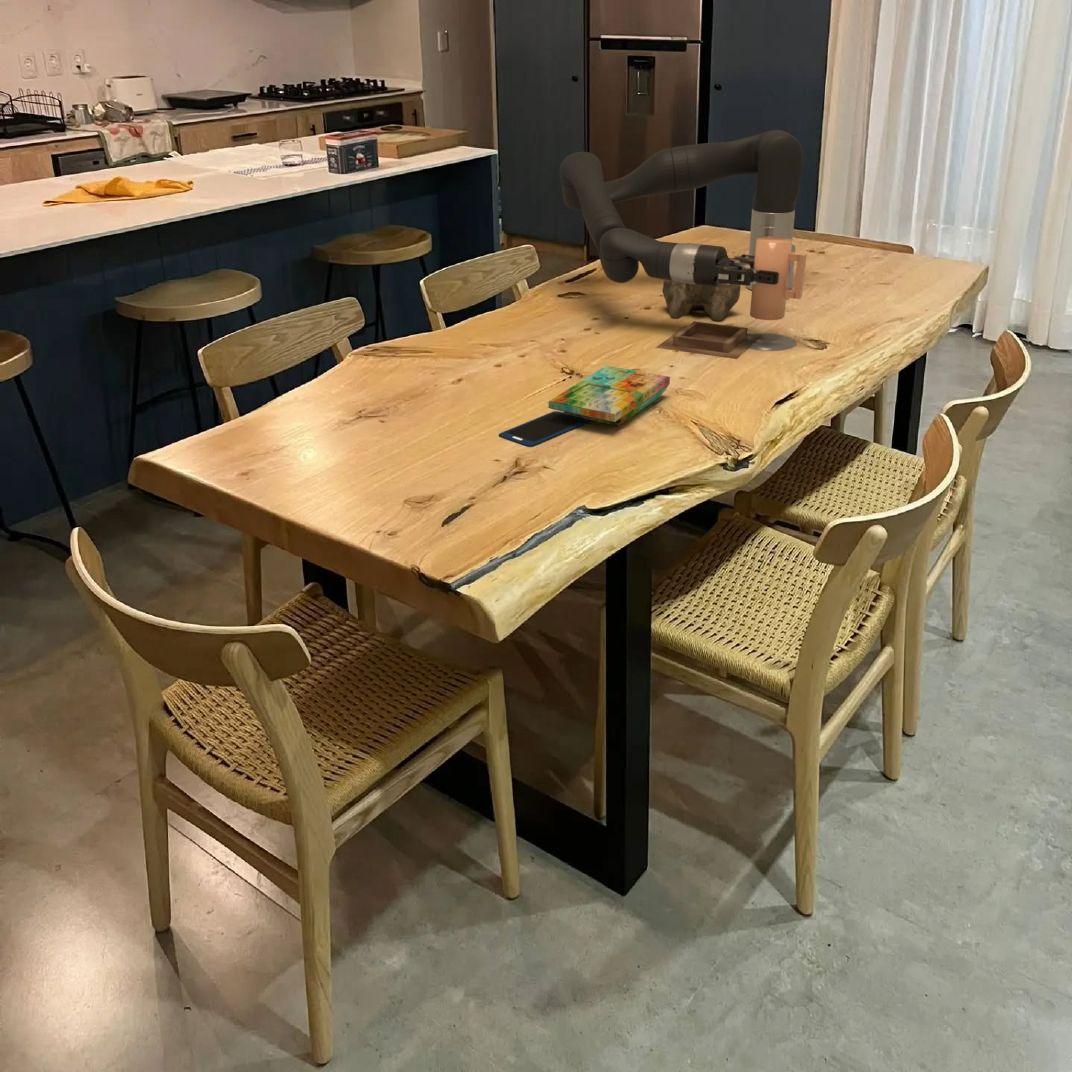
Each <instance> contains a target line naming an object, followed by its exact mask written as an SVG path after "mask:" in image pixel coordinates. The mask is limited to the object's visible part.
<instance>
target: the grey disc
mask: <svg viewBox="0 0 1072 1072" xmlns="http://www.w3.org/2000/svg"><path fill="white" fill-rule="evenodd" d="M749 334H750V335H749V336H747V338H746V340H747V341H746V340H745V339H744V340H743V341H742V342H741V343H740V344H741V345H742V346H744V347H745V346H746V347H747V348H749V347H750V348H749V349H751V350H755V351H761V352H763V351H764V352H779V351H780V352H781V351H787V350H790V349H793V348H795V347H796V346H797V344H798V343H797V341H796V340H795V339H794V338H792V337H789V336H787V335H782V334H779V333H778V334H777V333H764V332H762V333H749ZM751 334H752V335H751ZM760 335H761V336H760ZM754 336H755V337H754ZM751 337H752V338H754V339H755V338H756V340H755V342H754V341H753V339H752V342H751ZM759 338H760V339H759ZM757 339H758V340H757ZM749 340H750V341H749ZM753 342H754V343H753ZM744 343H745V344H744ZM749 343H751V344H752V345H751V344H749Z"/></svg>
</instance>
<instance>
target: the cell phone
mask: <svg viewBox="0 0 1072 1072" xmlns="http://www.w3.org/2000/svg"><path fill="white" fill-rule="evenodd" d="M588 423H589V420H587V419H582V418H579V417H576V416H572V415H568V414H566V413H564V411H559V410H553V411H551V412H549V413H545V414H544V415H541V416H539V417H536V418H534V419H532V420H529V421H526V422H524V423H522V424H520V425H519V424H518V425H517V426H515V427H514V426H513V427H512V428H509V429H506V430H504V431H502V432H500V433H499V434H498V437H499V438H501V439H504V440H507V441H510V442H512V443H515V444H518V445H521V446H524V447H527V448H533V447H537V446H539V445H542V444H544V443H546V442H548V441H550V440H552V439H555V438H558V437H560V436H563V435H564V434H567V433H570V432H571V431H574V430H576V429H578V428H580V427H584V426H586V425H587V424H588Z"/></svg>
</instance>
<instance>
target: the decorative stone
mask: <svg viewBox="0 0 1072 1072" xmlns="http://www.w3.org/2000/svg"><path fill="white" fill-rule="evenodd" d="M663 280H664V281H663V285H662V294H663V296H664V297H663V298H664V300H665V303H666V308H667V310H668V311H669V314H670V317H671V318H672V319H679V318H681V317H683V316H687V315H689V314H690V312H691V310H692V309H700V308H703V310H704V311H705V313H706V314H707V315H708V316H709V317H710V318H711V320H712V321H715V322H721V321H722V320H723V319H724V317H726V316H727V315H728V314H729V312H730V311H731V310H732V309H733V307H734V306H735V305H736V304H737V303H738V301H739V300H740V296H741V286H742V285H736V284H725V283H722V284H721V285H720V286H718V287H711V286H703V285H695V284H687V283H682V282H678V281H674V280H665V279H663Z"/></svg>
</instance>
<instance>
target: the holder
mask: <svg viewBox="0 0 1072 1072" xmlns="http://www.w3.org/2000/svg"><path fill="white" fill-rule="evenodd" d="M750 334H751V335H752V334H753V333H748V327H744V326H743V327H742V326H741V327H740V326H733V325H726V324H725V325H724V324H719V323H710V322H703V321H701V322H700V321H694V320H693V321H692V322H691V323H690V324H688V325H684V326H683V327H682V328H680V329H679V330H678V331H676V332H675V333H674V334H672V335H671V336H669V337H668V338H666V339H665V340H663V342H661V343H660V344H658V345H657V346H655V348H656V349H663V350H669V351H676V352H677V351H678V352H683V353H690V354H696V355H705V356H706V355H707V356H712V357H720V358H727V359H734V360H738V359H739V358H740V357H741V356H742V355H743V354H745V352H747V351H748V350H749V349H750V347H749V348H747V347H746V346H745V347H744V346H742V345H741V344H740V343H741V342H742V341H743V340H744V339H745V340H746V338H747V336H749V335H750ZM760 336H761V335H760ZM754 337H755V336H754ZM752 339H753V341H754V342H755V340H756V338H755V339H754V338H752V337H751V342H752ZM759 339H760V338H759ZM757 340H758V339H757ZM746 341H747V340H746ZM749 341H750V340H749ZM754 342H753V343H754ZM744 344H745V343H744ZM749 344H751V343H749ZM751 345H752V344H751Z"/></svg>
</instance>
